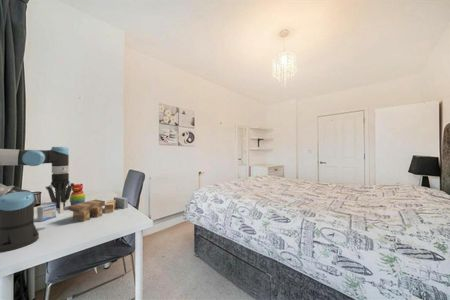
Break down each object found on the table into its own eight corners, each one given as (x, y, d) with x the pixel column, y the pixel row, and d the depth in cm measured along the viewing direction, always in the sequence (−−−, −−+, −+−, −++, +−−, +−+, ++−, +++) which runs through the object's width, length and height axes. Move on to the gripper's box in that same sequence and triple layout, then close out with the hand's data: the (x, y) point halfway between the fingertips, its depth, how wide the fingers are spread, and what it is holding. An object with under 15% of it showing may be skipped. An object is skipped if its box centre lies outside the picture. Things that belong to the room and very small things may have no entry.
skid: (113, 212, 133) (113, 204, 133) (104, 213, 131) (104, 205, 131) (115, 207, 144) (115, 200, 144) (108, 208, 142) (108, 200, 142)
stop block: (124, 208, 141) (124, 199, 141) (113, 206, 146) (113, 197, 146) (127, 207, 144) (127, 198, 144) (117, 205, 149) (117, 196, 149)
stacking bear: (66, 210, 137) (66, 185, 137) (71, 206, 146) (70, 183, 146) (84, 208, 141) (84, 184, 141) (87, 204, 150) (87, 182, 150)
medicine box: (42, 221, 116) (42, 207, 115) (37, 221, 116) (36, 207, 116) (56, 217, 123) (56, 203, 123) (51, 216, 124) (51, 203, 124)
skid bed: (84, 221, 116) (84, 211, 116) (73, 218, 121) (73, 209, 121) (102, 215, 126) (102, 206, 126) (91, 213, 131) (91, 204, 131)
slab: (78, 212, 114) (78, 207, 114) (69, 210, 118) (69, 205, 118) (104, 205, 129) (104, 201, 129) (95, 203, 133) (95, 199, 133)
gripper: (49, 174, 102) (49, 217, 102) (76, 172, 114) (76, 210, 114) (42, 174, 105) (42, 215, 105) (69, 171, 117) (69, 209, 117)
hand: (60, 213), depth 110 cm, fingers closed
